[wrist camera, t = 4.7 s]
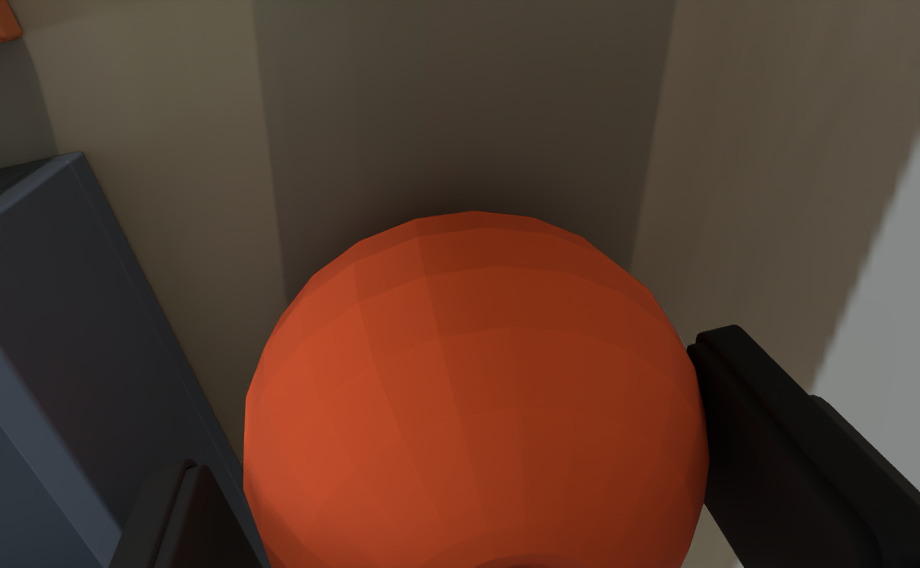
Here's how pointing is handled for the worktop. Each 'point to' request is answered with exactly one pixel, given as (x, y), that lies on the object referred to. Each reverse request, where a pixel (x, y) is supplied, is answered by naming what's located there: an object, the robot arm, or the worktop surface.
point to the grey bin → (87, 377)
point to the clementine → (475, 408)
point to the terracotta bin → (8, 24)
